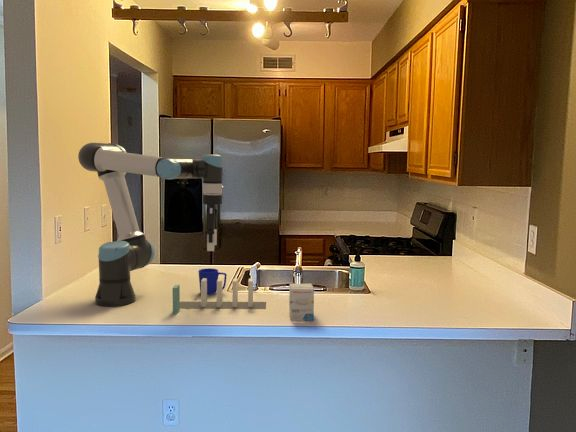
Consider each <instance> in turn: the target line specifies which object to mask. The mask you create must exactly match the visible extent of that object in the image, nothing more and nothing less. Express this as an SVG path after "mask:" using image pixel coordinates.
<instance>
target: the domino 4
mask: <svg viewBox="0 0 576 432" xmlns="http://www.w3.org/2000/svg"><path fill="white" fill-rule="evenodd" d="M247 284H248V285H247V286H248V287H247V291H248V292H247V293H248V294H247V296H248V297H247V298H248V299H247V302H248V307H252V306H253V302H254V278H248V280H247Z"/></svg>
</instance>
